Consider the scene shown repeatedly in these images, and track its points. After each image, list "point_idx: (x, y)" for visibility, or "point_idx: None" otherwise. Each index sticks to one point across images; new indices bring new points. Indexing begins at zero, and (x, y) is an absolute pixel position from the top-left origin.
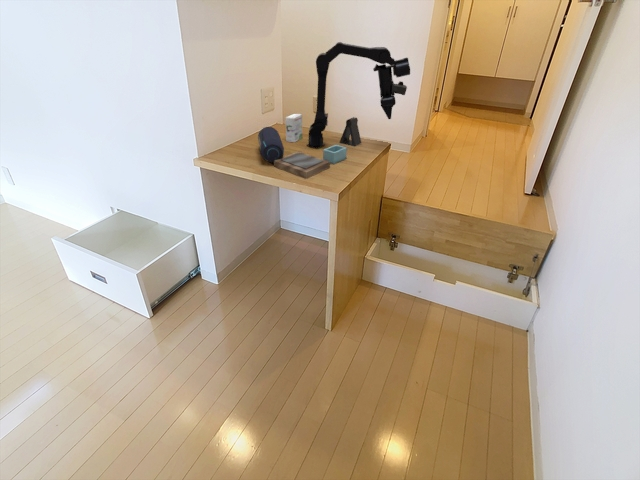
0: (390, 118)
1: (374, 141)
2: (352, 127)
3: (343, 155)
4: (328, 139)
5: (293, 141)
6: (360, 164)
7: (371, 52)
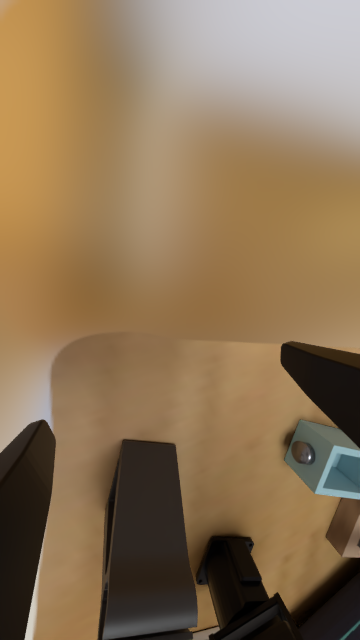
0: (296, 346)
1: (64, 397)
2: (173, 548)
3: (326, 432)
4: None
5: None
6: None
7: None
